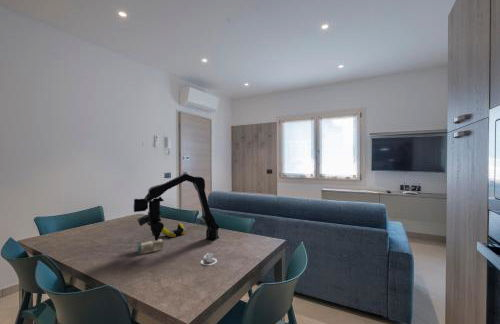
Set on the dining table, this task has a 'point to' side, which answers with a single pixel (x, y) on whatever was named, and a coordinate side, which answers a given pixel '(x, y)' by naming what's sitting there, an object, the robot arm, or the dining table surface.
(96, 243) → the dining table surface
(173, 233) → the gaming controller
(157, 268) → the dining table surface
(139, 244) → the birch block
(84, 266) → the dining table surface
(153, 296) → the dining table surface
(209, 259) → the teacup and saucer
